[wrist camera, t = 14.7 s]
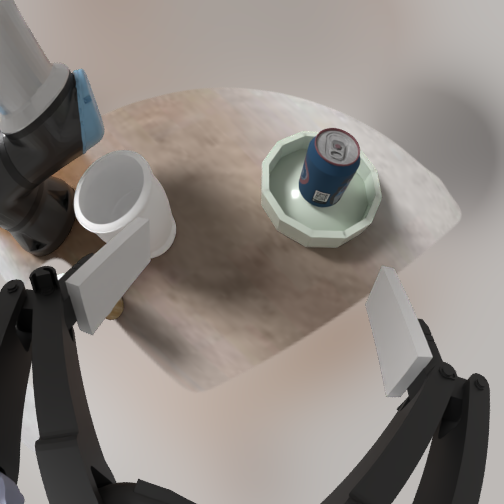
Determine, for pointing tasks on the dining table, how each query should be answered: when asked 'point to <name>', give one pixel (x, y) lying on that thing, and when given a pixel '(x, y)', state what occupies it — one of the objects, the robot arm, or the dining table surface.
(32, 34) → the robot arm
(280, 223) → the bowl
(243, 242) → the dining table surface
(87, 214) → the jar
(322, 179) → the soda can
